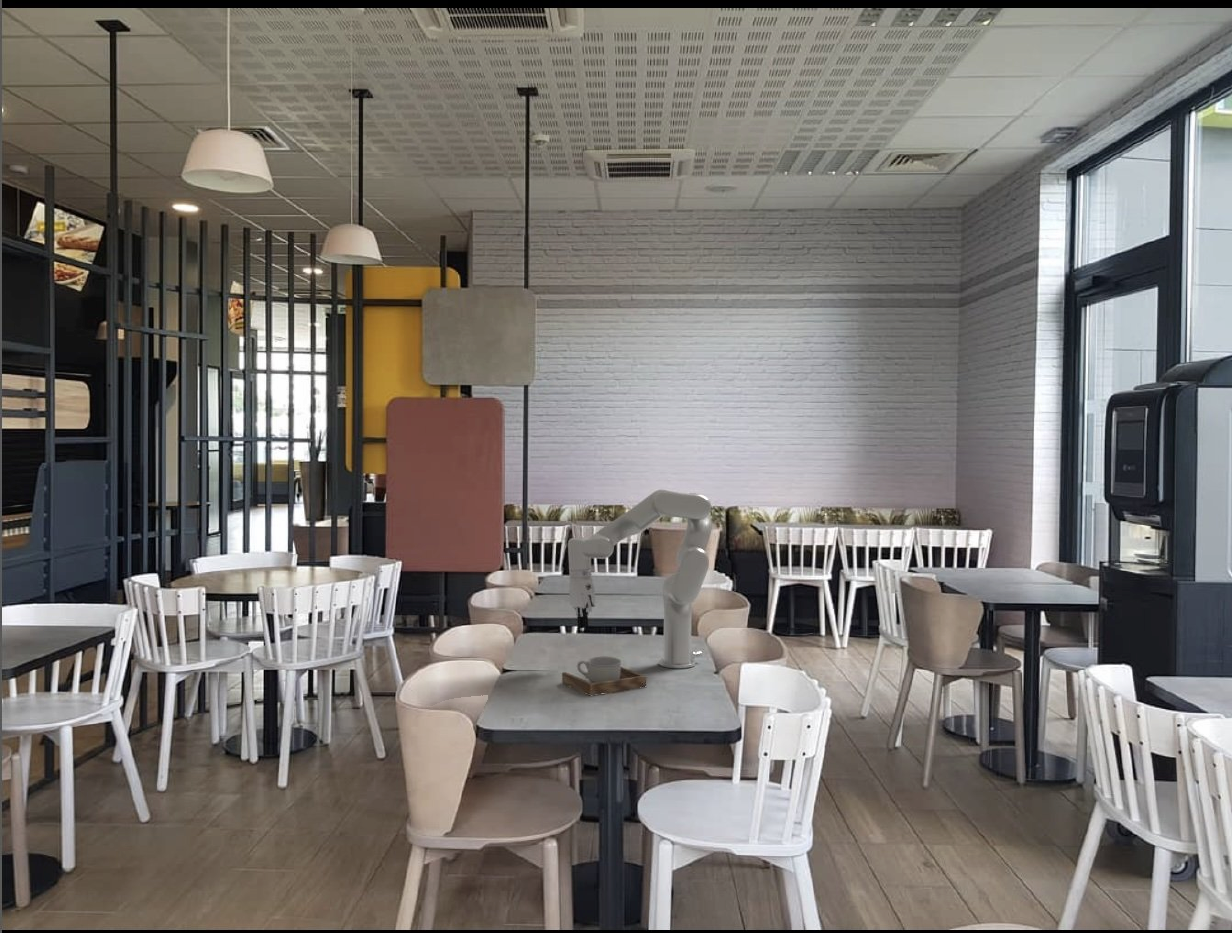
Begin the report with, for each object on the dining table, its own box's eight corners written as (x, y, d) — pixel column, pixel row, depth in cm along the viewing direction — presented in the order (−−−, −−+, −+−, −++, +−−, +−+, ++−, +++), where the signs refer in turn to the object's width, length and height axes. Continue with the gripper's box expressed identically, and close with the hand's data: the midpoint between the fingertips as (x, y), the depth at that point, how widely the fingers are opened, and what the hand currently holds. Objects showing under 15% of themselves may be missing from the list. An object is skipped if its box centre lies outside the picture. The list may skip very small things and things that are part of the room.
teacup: (625, 682, 313) (625, 657, 313) (614, 690, 303) (614, 665, 303) (584, 678, 317) (584, 654, 317) (572, 686, 307) (572, 661, 307)
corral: (615, 675, 322) (616, 665, 322) (646, 687, 307) (646, 676, 307) (562, 683, 311) (562, 672, 311) (590, 696, 296) (590, 684, 296)
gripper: (601, 574, 327) (604, 628, 328) (578, 570, 340) (580, 622, 340) (582, 577, 323) (585, 632, 324) (559, 573, 336) (562, 626, 336)
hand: (583, 627), depth 332 cm, fingers closed
